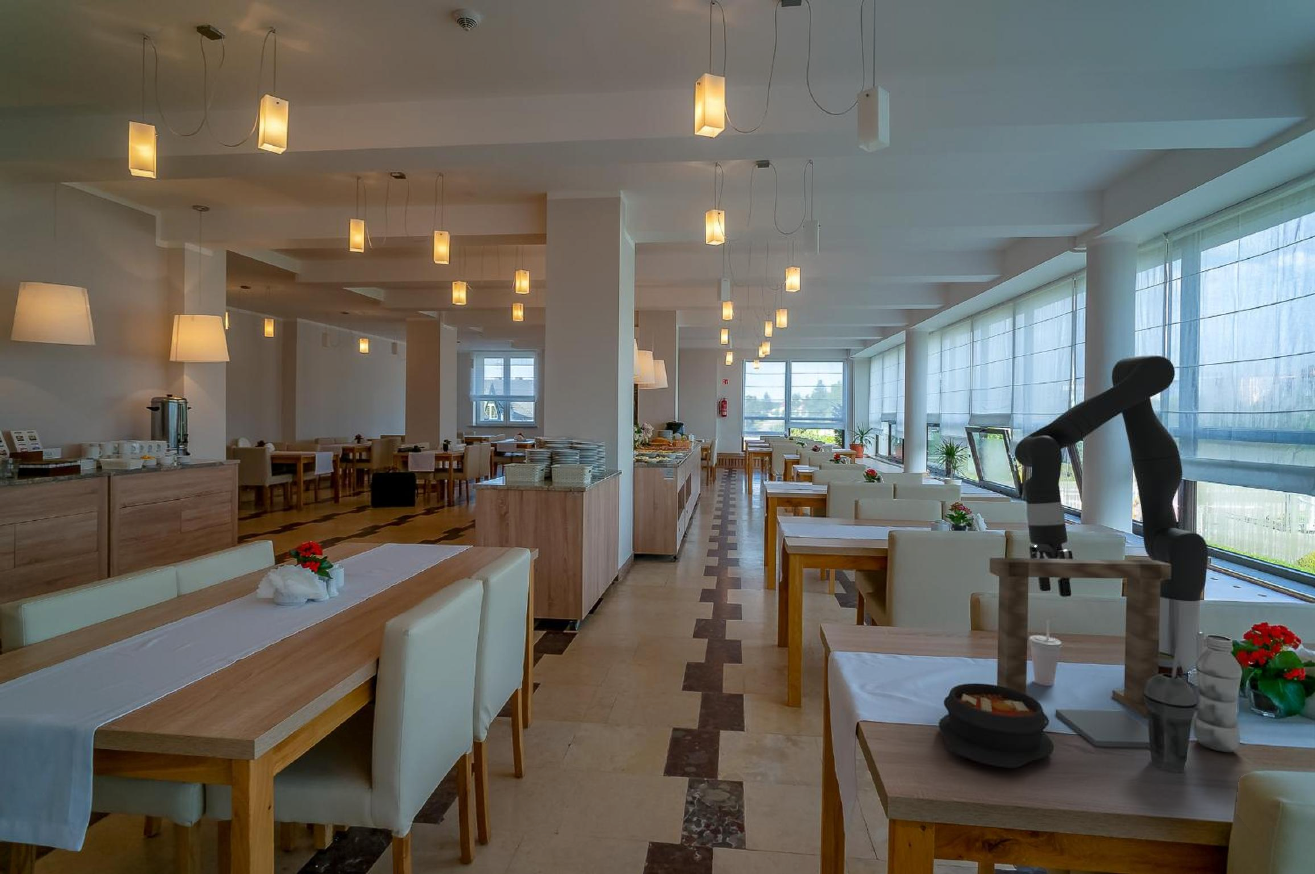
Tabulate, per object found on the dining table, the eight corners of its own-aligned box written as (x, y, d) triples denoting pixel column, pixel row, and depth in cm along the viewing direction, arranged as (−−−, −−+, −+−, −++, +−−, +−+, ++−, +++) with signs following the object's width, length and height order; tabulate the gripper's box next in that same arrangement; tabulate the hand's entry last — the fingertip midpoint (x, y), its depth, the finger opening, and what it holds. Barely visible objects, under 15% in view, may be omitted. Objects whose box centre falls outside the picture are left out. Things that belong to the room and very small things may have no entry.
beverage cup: (1130, 755, 116) (1133, 642, 116) (1169, 753, 117) (1172, 641, 116) (1166, 777, 109) (1169, 657, 108) (1207, 775, 110) (1210, 656, 109)
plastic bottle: (1228, 742, 121) (1231, 634, 121) (1247, 760, 115) (1251, 645, 114) (1186, 736, 123) (1189, 630, 123) (1202, 753, 117) (1205, 641, 116)
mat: (1122, 715, 132) (1122, 710, 132) (1169, 748, 119) (1170, 742, 119) (1055, 714, 132) (1055, 709, 132) (1095, 746, 119) (1095, 740, 119)
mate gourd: (1169, 686, 147) (1170, 619, 147) (1192, 701, 139) (1194, 630, 139) (1132, 684, 148) (1134, 617, 148) (1153, 698, 140) (1154, 628, 140)
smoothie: (1065, 689, 145) (1067, 625, 144) (1033, 686, 146) (1034, 624, 146) (1054, 678, 151) (1055, 617, 151) (1023, 675, 152) (1024, 615, 152)
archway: (1143, 697, 141) (1147, 557, 140) (1178, 718, 131) (1182, 567, 130) (980, 693, 142) (983, 554, 142) (1002, 713, 132) (1005, 565, 132)
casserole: (1040, 792, 105) (1041, 740, 104) (919, 755, 116) (920, 707, 116) (1063, 734, 124) (1064, 690, 124) (958, 707, 136) (958, 666, 135)
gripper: (1080, 522, 146) (1090, 597, 144) (1046, 519, 160) (1055, 587, 158) (1045, 525, 146) (1055, 599, 145) (1014, 522, 160) (1023, 590, 159)
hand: (1055, 593), depth 151 cm, fingers open, 8 cm apart
